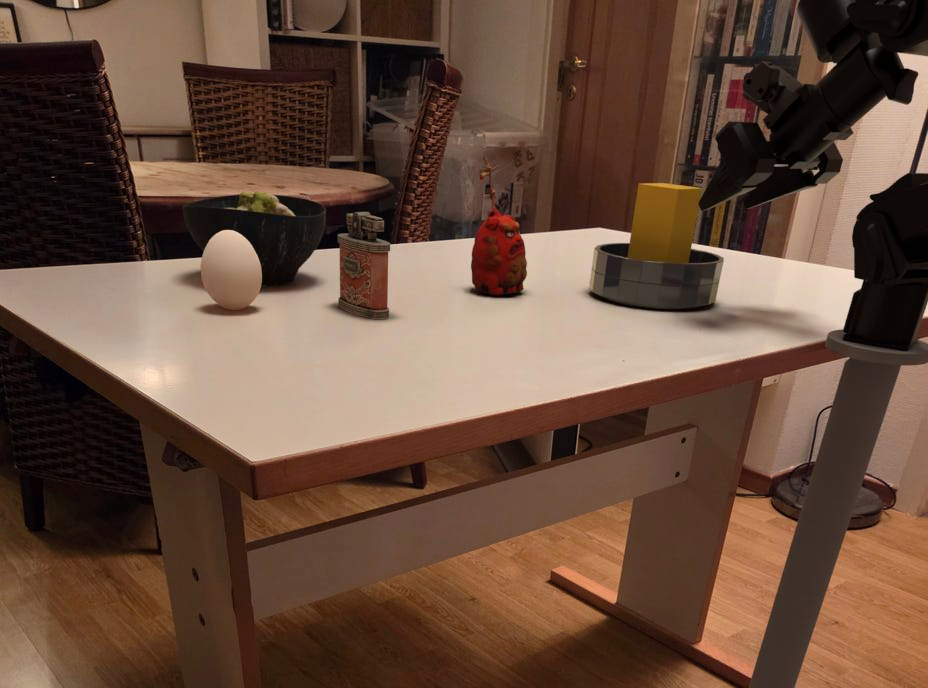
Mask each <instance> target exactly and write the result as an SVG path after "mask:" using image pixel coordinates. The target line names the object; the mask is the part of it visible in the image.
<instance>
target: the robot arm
mask: <svg viewBox="0 0 928 688" xmlns="http://www.w3.org/2000/svg"><path fill="white" fill-rule="evenodd" d="M796 13H797V15H798V18H799V20H800V22H801V24H802V26H803V29H804V31H805V33H806V35H807V37H808V41H809V43H810V44H811V45H810V46H811V47H812V49H813V51H814V53H815V56H816V58H817V60H818V61H819V62H821V63H823V64H828V63H833V64H835V65H834V66H833V67H832V68H831V69H830V70H829V71H828V72H827V73H825V75H823V76H822V77H821V78H820V79H819V80H818V81H817V82H816V83H815V84H814V83H813V84H811V83H802V82H800V81H799V80H798V79H796V78H795V77H794V76H793V75H791V74H790V73H788V72H787V71H786V70H784V69H783V68H781V67H779V66H776V65H773V63H772V62H770V61H761V62H760V63H759V64H757V65H754V66H753V67H752V69H751V70H750V71H749V72H746V73H745V74H744V76H743V83H742V94H741V97H742V99H743V100H745V101H746V102H751V103H752V104H753V105H755V106H756V107H758V108H759V109H760V110H761V111H763V112H764V113H765V114H767V115H766V116H765V117H764V118H763V119H762V121H763V123H764V125H765V127H766V129H767V130H770V134H769V136H768V137H769V140H767V138H766V136H765V134H764V132H763V131H762V128H761V126H760V124H759V123H758V122H755V121H754V122H752V121H736V120H735V121H734V120H728V122H727V123H725V125H724V126H723V127H721V129H720V130H719V131H717V132H716V134H715V138H714V140H715V141H716V143H717V145H716V146H717V150H718V153H719V164H718V166H717V168H716V170H715V172H714V174H713V175H712V177H711V180H710V181H709V183H708V185H707V186H706V188H705V190H704V192H702V194H701V199H700V201H699V202H698V205H699V210H700V211H701V212H705V211H708V210H710V209H712V208H713V209H714V208H715V207H717V206H719V205H721V204H724V203H726V202H728V201H730V200H733V199H735V198H737V197H740V196H742V195H745V194H746V193H748V192H749V193H748V194H747V196H745V198H744V199H743V201H742V204H743V206H744V207H745V209H746V210H750V209H752V208H755V207H758V206H761V205H763V204H766V203H770V202H772V201H776V200H778V199H782V198H784V197H787V196H790V195H793V194H796V193H797V194H798V193H801V192H803V191H805V190H809V189H813V188H816V187H818V185H826V184H828V183H829V182H830V181H831V180H832V179H834V178H835V177H836V176H837V175H838V174H840V172H841V169H842V165H843V162H844V158H843V156H842V155H841V153H840V150H839V148H838V146H837V145H836V143H835V142H836V141H846V140H847V139H849V138H850V137H851V136H852V135H853V134H854V131H853V129H852V127H854V125H855V124H856V123H858V122H859V121H860V120H861V119H862V118H864V116H866V114H868V113H869V112H871V110H873V109H874V107H875V108H876V106H877V105H878V104H880V102H881V101H883V100H884V99H885V98H887V100H888V101H892V102H895V103H898V104H901V105H905V106H907V105H908V106H909V105H910V104H911V102H913V101H912V100H913V96H914V92H915V84H916V81H917V79H918V76H919V72H918V71H917V70H914V69H912V68H911V69H910V68H908V67H905V66H904V64H903V62H902V59H901V58H900V57H901V56H900V55H899V54H906V55H913V56H921V57H928V0H799V1H798V3H797V7H796ZM869 200H871V202H869V203H868V204H866V205H865V206H864V207H863V208H862V209H861V210H860V211H859V212H858V213H857V215H856V216H855V219H856V220H855V223H854V224H853V227H852V234H851V242H852V247H853V270H854V271H853V276H854V278H855V279H857V280H862V283H861V288H859V289H857V290H856V291H854V292H853V293H852V298H851V301H850V304H849V308H848V312H847V315H846V318H845V321H844V325H843V328H842V330H843V331H844V333H847V334H845V335H844V336H843V339H842V340H843V341H847V342H853V343H858V344H864V345H870V346H875V347H881V348H887V349H892V350H898V351H905V352H907V351H909V350H910V349H911V348H912V347H913V346H914V345H915V344H916V343H917V341H918V340H919V337H917V336H918V333H919V330H920V327H921V324H922V321H923V318H924V314H925V311H926V309H927V306H928V172H925V173H924V172H908V173H905V174H904V175H902V176H901V177H899V178H898V179H897V180H896V181H894V182H893V183H892V184H891V185H890V186H888V187H887V188H885V189H884V190H882V191H880V192H877V193H872V194H870V195H869Z"/></svg>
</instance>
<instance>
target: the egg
mask: <svg viewBox="0 0 928 688" xmlns="http://www.w3.org/2000/svg"><path fill="white" fill-rule="evenodd" d="M200 276H201V281H202V285H203V288H204V290H205V292H206V293H207V294H208V295H209V297H210V298H211V299H212V300H213V302H215V303H216V304H217V305H218V306H220V307H222V308H223V309H226V310H231V311H238V310H242V309H245V308H246V307H248V306H250V305H251V304H252V303H253V302H254V301H255V300H256V298H257V296H258V295H259V293H260V290H261V288H262V286H261V284H262V271H261V265H260V261H259V258H258V256H257V254H256V252H255V250H254V248H253V247H252V245H251V244H250V242H249V241H248V240H247V239H246V238H245V237H244V236H242V235H241V234H239V233H238V232H236V231H233V230H223V231H220V232H219V233H217V234H215V235H214V236H213V237H212V238H211V239H210V240H209V242H208V244H207V246H206V247H205V250H204V252H203V253H202V256H201V260H200Z"/></svg>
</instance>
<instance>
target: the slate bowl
mask: <svg viewBox="0 0 928 688" xmlns="http://www.w3.org/2000/svg"><path fill="white" fill-rule="evenodd" d="M629 244H630V242H612V243H602V244H597V246H595V247H594V248H593V257H592V264H591V271H590V278H589V286H588V288H589V290H590V291H591V292H592V293H594V294H596V295H597V296H599V297H600V298H602V299H603V300H606V301H609V302H612V303H615V304H620V305H623V306H629V307H634V308H641V309H642V308H643V309H650V310H651V309H652V310H663V311H666V310H667V311H668V310H669V311H687V310H695V309H699V308H703V307H704V306H708V305H711V304H713V303H716V299H717V295H718V290H719V285H720V281H721V276H722V271H723V266H724V261H725V257H723V256H722V255H719V254H717V253H713V252H710V251H706V250H701V249H696V248H691V252H690V257H689V262H688V263H668V262H656V261H647V260H639V259H632V258H627V257H628V251H629Z"/></svg>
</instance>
